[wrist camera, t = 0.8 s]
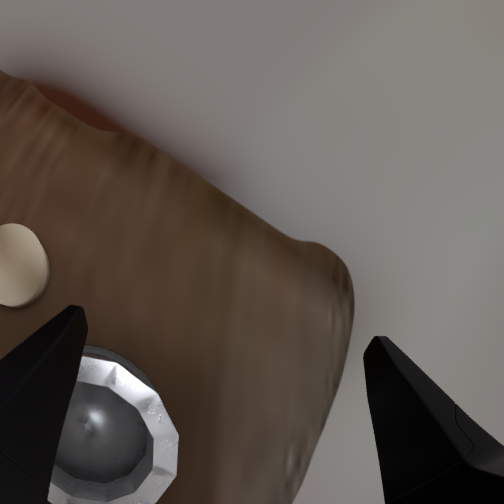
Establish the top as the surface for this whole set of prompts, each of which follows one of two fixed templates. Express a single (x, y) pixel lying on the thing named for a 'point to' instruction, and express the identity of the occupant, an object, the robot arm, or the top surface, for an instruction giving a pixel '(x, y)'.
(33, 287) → the lid
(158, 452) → the canister
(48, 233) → the top surface
